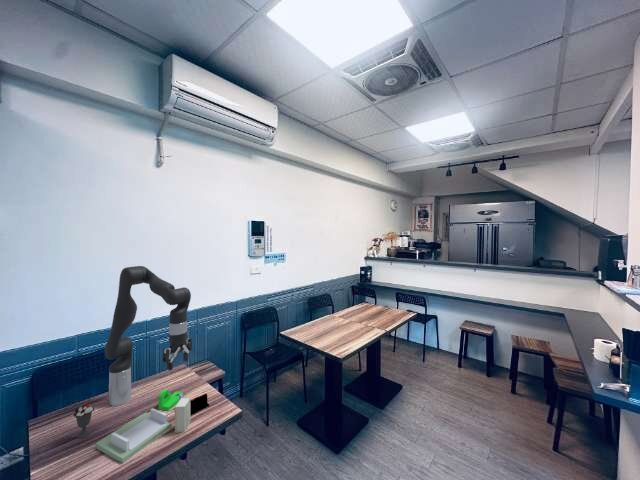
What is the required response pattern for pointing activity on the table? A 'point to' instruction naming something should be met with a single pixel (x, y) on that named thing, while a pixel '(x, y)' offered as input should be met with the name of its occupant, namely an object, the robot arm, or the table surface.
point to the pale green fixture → (134, 435)
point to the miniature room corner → (197, 403)
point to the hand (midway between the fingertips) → (178, 365)
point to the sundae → (83, 419)
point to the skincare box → (182, 415)
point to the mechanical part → (168, 400)
